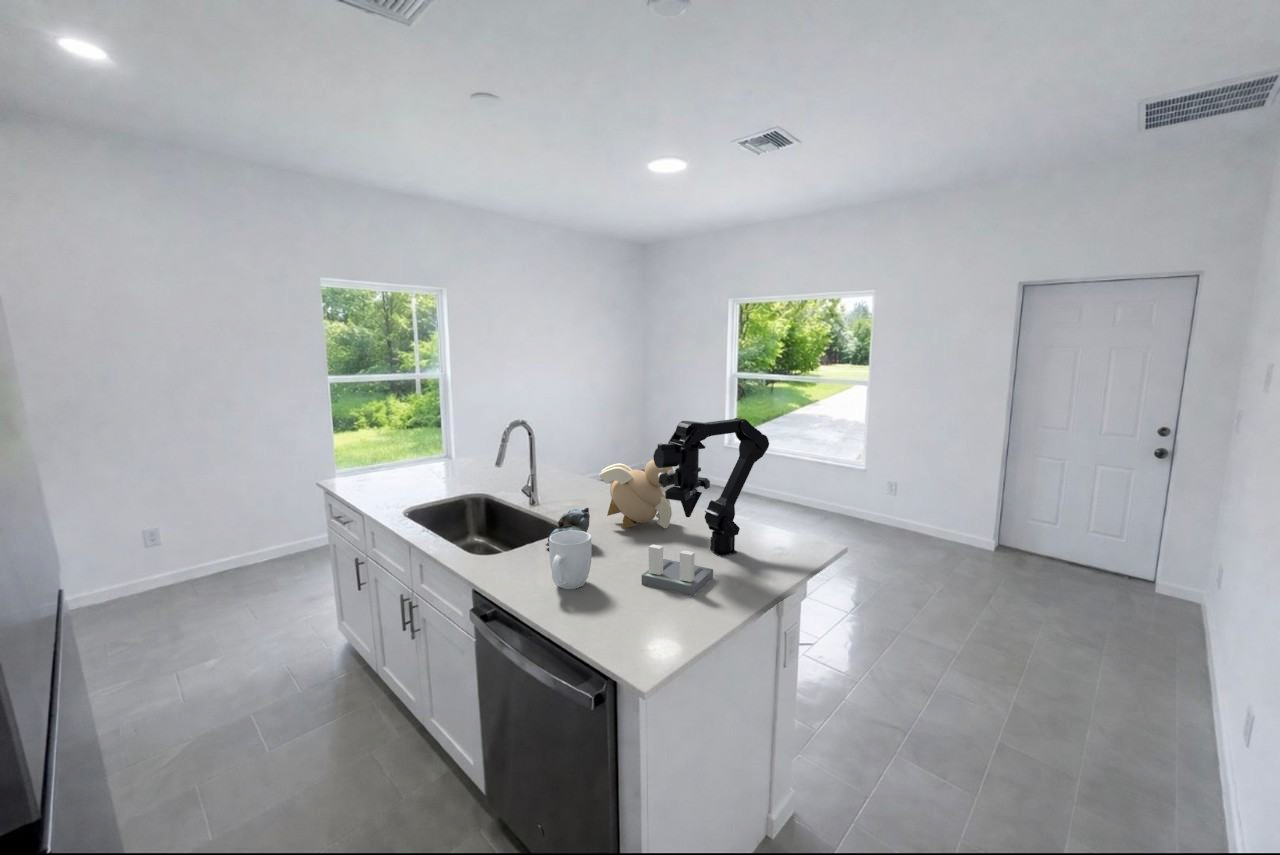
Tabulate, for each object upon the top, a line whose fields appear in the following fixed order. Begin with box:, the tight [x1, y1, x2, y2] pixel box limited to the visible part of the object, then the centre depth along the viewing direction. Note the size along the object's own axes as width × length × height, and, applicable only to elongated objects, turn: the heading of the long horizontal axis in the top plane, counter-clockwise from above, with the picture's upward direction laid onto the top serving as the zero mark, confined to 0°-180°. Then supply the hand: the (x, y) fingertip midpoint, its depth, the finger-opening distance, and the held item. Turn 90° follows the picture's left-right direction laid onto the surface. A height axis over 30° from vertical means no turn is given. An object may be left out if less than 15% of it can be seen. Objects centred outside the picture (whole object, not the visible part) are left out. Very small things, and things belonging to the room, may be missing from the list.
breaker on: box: [679, 550, 696, 582], centre depth 138 cm, size 2×3×7 cm, turn 60°
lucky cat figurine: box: [544, 507, 590, 547], centre depth 171 cm, size 15×12×14 cm
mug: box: [548, 530, 593, 590], centre depth 140 cm, size 15×11×13 cm
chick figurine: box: [598, 458, 675, 529], centre depth 191 cm, size 30×28×23 cm
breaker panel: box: [641, 558, 714, 597], centre depth 145 cm, size 13×15×3 cm
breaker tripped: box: [648, 543, 664, 575], centre depth 143 cm, size 2×3×7 cm, turn 60°
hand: (688, 516), depth 158 cm, fingers closed
